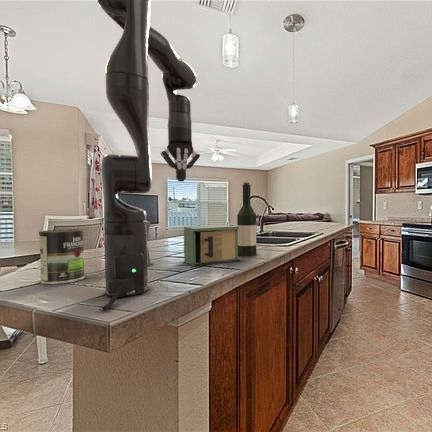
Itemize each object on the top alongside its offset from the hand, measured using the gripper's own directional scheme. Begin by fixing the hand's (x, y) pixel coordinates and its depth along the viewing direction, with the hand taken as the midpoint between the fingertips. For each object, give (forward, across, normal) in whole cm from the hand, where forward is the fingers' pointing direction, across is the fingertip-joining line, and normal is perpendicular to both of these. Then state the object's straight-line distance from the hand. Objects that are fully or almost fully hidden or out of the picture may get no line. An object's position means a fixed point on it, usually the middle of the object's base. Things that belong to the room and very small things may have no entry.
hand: (181, 181), depth 107 cm
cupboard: (+29, +12, +5) cm, 32 cm away
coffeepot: (+29, -12, +14) cm, 35 cm away
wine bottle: (+29, +30, +11) cm, 43 cm away
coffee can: (+29, -33, +2) cm, 44 cm away
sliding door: (+28, +10, -3) cm, 30 cm away
